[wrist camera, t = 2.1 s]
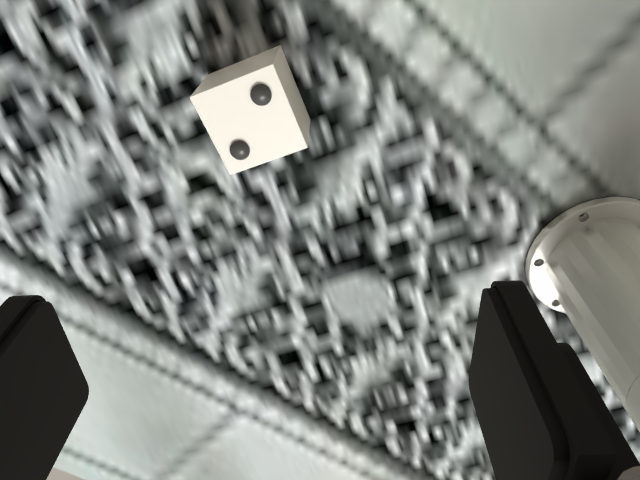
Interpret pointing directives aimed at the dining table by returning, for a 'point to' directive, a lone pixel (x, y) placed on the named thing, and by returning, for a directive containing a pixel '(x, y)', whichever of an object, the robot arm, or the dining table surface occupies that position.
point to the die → (253, 111)
